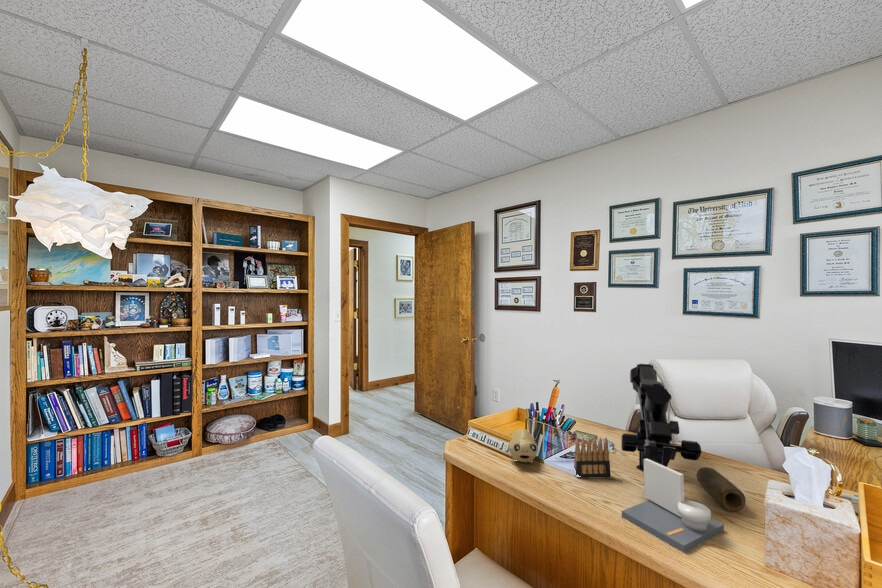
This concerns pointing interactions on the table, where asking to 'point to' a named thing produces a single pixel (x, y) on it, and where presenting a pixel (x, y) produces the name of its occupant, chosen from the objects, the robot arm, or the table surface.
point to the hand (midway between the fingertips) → (663, 477)
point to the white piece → (671, 492)
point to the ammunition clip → (592, 459)
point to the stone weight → (721, 489)
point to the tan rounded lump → (523, 446)
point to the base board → (671, 525)
